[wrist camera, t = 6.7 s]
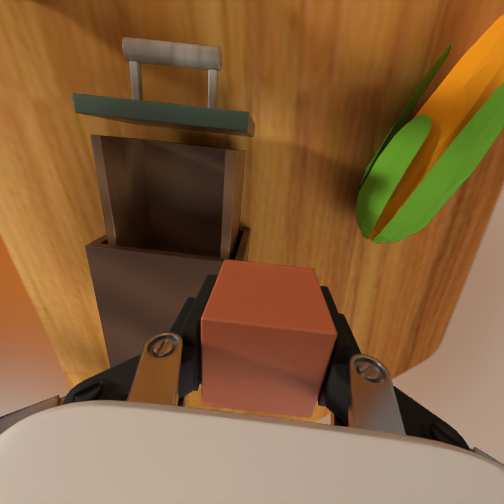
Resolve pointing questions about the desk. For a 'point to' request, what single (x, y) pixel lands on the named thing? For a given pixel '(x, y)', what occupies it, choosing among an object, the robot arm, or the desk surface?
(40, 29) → the desk surface
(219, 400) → the block
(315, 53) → the desk surface
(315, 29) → the desk surface
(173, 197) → the drawer
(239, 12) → the desk surface
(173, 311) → the cabinet
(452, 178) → the corn
